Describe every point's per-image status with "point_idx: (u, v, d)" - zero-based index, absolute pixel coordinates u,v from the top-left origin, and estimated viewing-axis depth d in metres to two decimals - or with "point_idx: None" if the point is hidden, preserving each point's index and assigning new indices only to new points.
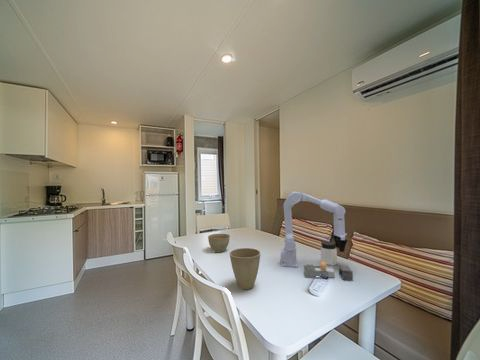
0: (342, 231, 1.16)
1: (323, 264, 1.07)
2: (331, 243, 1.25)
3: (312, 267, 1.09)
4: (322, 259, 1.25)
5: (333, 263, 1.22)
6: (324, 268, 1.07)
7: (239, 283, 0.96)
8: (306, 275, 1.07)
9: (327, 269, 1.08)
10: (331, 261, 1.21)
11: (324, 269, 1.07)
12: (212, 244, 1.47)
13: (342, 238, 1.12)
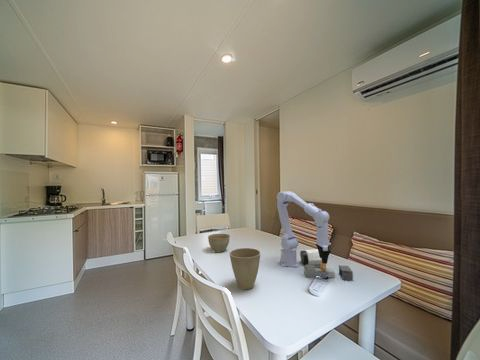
0: (325, 240, 1.06)
1: (323, 264, 1.07)
2: (302, 256, 1.24)
3: (312, 267, 1.09)
4: None
5: None
6: (324, 268, 1.07)
7: (239, 283, 0.96)
8: (306, 275, 1.07)
9: (327, 269, 1.08)
10: (320, 260, 1.21)
11: (324, 269, 1.07)
12: (212, 244, 1.47)
13: (324, 249, 1.02)
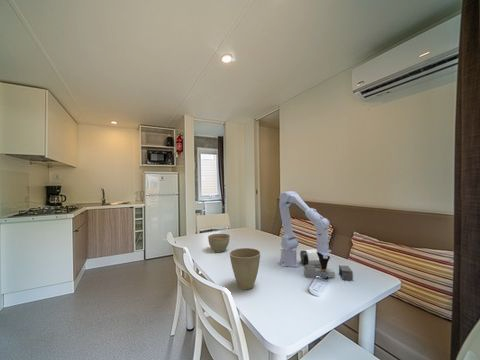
0: (325, 248, 1.06)
1: None
2: (302, 256, 1.24)
3: (312, 267, 1.09)
4: None
5: None
6: None
7: (239, 283, 0.96)
8: (306, 275, 1.07)
9: (327, 269, 1.08)
10: None
11: (324, 269, 1.07)
12: (212, 244, 1.47)
13: (325, 256, 1.02)
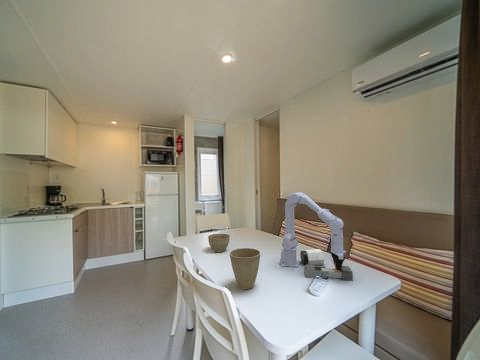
0: (340, 248, 1.04)
1: None
2: (302, 256, 1.24)
3: (312, 267, 1.09)
4: None
5: (322, 258, 1.21)
6: None
7: (239, 283, 0.96)
8: (306, 275, 1.07)
9: None
10: (320, 260, 1.21)
11: (339, 270, 1.06)
12: (212, 244, 1.47)
13: (340, 257, 1.00)
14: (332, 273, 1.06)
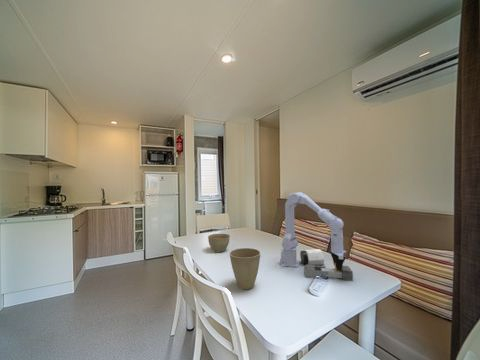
0: (340, 248, 1.04)
1: None
2: (302, 256, 1.24)
3: (312, 267, 1.09)
4: None
5: (322, 258, 1.21)
6: None
7: (239, 283, 0.96)
8: (306, 275, 1.07)
9: None
10: (320, 260, 1.21)
11: None
12: (212, 244, 1.47)
13: (340, 257, 1.00)
14: (332, 273, 1.06)
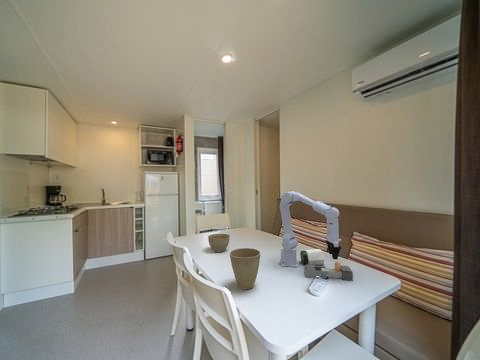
0: (336, 237, 1.06)
1: (337, 265, 1.06)
2: (302, 256, 1.24)
3: (312, 267, 1.09)
4: None
5: (322, 258, 1.21)
6: (339, 269, 1.06)
7: (239, 283, 0.96)
8: (306, 275, 1.07)
9: None
10: (320, 260, 1.21)
11: (339, 270, 1.06)
12: (212, 244, 1.47)
13: (335, 245, 1.02)
14: (332, 273, 1.06)
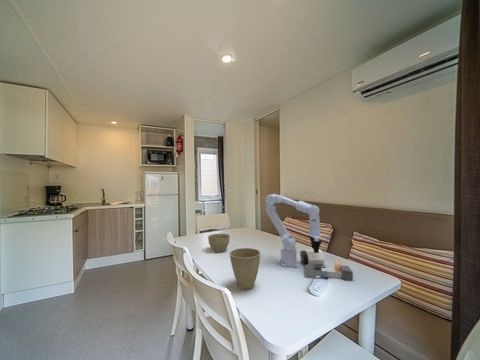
0: (317, 232, 1.16)
1: (337, 265, 1.06)
2: (302, 256, 1.24)
3: (312, 267, 1.09)
4: None
5: (322, 258, 1.21)
6: (339, 269, 1.06)
7: (239, 283, 0.96)
8: (306, 275, 1.07)
9: None
10: (320, 260, 1.21)
11: (339, 270, 1.06)
12: (212, 244, 1.47)
13: (316, 239, 1.12)
14: (332, 273, 1.06)
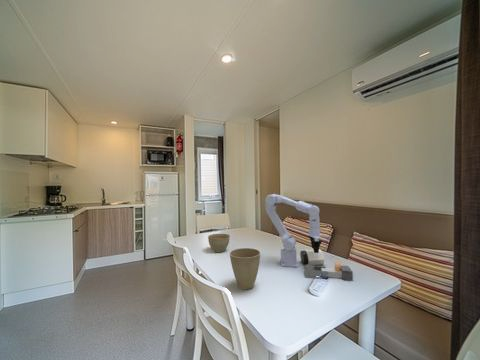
0: (317, 232, 1.16)
1: (337, 265, 1.06)
2: (302, 256, 1.24)
3: (312, 267, 1.09)
4: None
5: (322, 258, 1.21)
6: (339, 269, 1.06)
7: (239, 283, 0.96)
8: (306, 275, 1.07)
9: None
10: (320, 260, 1.21)
11: (339, 270, 1.06)
12: (212, 244, 1.47)
13: (316, 239, 1.12)
14: (332, 273, 1.06)
